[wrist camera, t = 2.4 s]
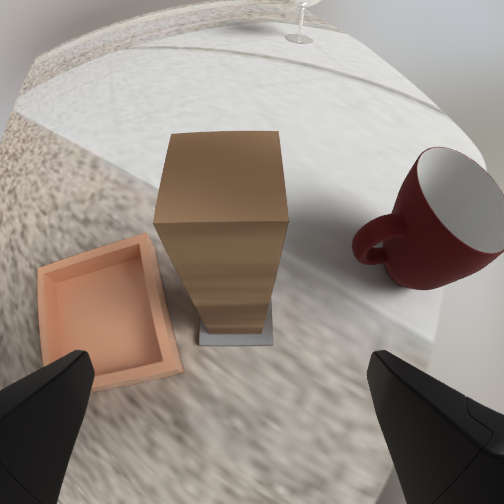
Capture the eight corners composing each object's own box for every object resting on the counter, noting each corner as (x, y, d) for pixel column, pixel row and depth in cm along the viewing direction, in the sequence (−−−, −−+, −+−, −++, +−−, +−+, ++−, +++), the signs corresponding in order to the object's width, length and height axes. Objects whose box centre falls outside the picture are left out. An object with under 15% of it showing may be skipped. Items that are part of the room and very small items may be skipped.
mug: (355, 334, 21) (427, 285, 12) (320, 240, 24) (356, 151, 15) (454, 294, 22) (529, 239, 13) (418, 217, 25) (470, 145, 17)
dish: (184, 372, 19) (176, 369, 17) (66, 396, 18) (48, 394, 15) (155, 248, 23) (146, 232, 21) (52, 280, 22) (37, 268, 20)
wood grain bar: (272, 345, 20) (321, 247, 7) (200, 345, 20) (122, 249, 7) (269, 278, 23) (298, 118, 10) (202, 279, 22) (154, 122, 9)
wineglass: (278, 42, 41) (282, -19, 31) (281, 30, 45) (285, -25, 34) (318, 48, 41) (327, -13, 30) (317, 35, 44) (325, -19, 33)
